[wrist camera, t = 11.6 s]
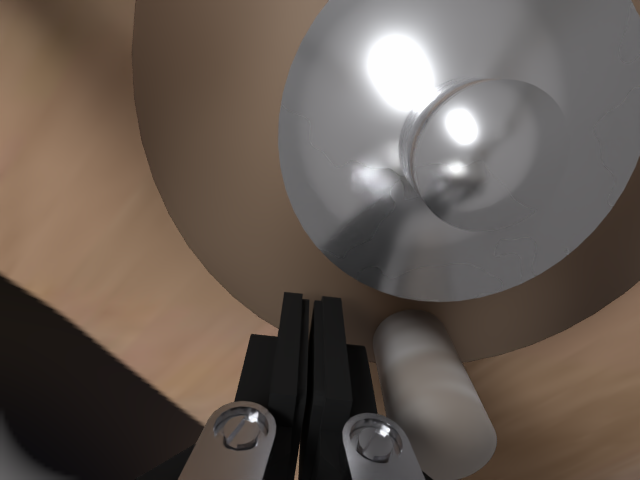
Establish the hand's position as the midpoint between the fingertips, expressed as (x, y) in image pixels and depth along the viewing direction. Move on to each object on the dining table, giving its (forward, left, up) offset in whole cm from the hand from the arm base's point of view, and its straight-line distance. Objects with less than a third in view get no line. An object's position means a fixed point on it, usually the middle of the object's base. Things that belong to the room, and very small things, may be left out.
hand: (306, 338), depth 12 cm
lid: (-2, -6, -1) cm, 7 cm away
